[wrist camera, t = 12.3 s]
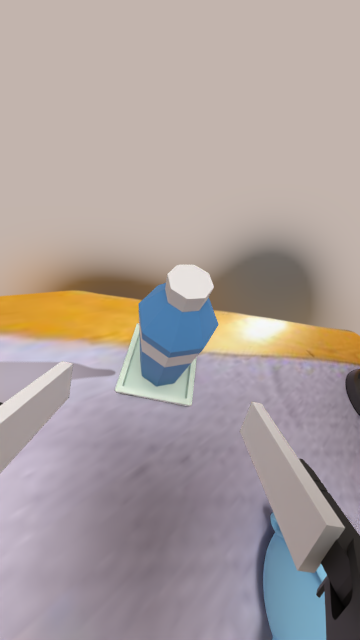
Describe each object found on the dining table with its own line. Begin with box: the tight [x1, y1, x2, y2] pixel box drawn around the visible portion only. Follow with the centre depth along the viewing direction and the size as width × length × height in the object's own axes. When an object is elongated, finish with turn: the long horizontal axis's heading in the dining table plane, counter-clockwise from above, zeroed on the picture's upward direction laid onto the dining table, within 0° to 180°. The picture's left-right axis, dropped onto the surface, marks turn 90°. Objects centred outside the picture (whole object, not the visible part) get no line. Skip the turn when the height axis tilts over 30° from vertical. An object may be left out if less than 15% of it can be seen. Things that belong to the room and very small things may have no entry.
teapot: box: [263, 512, 327, 640], centre depth 20 cm, size 15×17×11 cm
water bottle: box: [139, 265, 218, 387], centre depth 25 cm, size 9×9×25 cm
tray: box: [115, 323, 197, 406], centre depth 36 cm, size 14×14×2 cm
